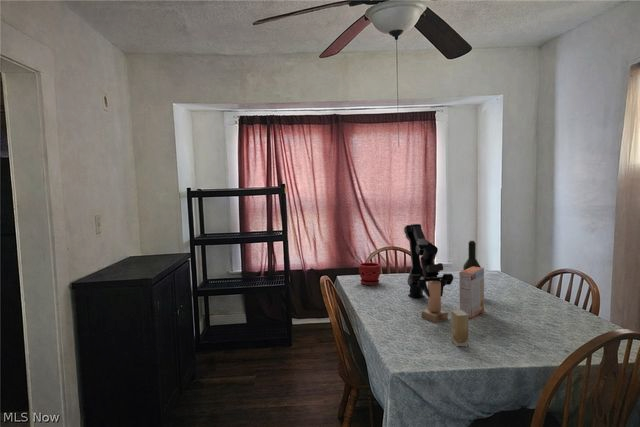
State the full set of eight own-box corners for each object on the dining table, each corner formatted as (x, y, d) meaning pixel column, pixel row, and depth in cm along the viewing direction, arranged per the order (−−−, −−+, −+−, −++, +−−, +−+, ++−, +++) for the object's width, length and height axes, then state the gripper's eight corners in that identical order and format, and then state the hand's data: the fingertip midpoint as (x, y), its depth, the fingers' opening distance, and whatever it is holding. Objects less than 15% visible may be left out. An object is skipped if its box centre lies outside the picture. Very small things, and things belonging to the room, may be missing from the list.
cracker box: (472, 308, 182) (472, 265, 180) (484, 311, 178) (485, 267, 176) (458, 316, 172) (458, 271, 171) (471, 319, 168) (472, 273, 166)
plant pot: (382, 285, 226) (382, 266, 225) (360, 286, 227) (359, 266, 226) (379, 280, 239) (378, 261, 238) (358, 280, 240) (358, 262, 239)
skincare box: (450, 340, 147) (450, 309, 146) (461, 339, 147) (461, 309, 146) (457, 347, 140) (457, 315, 140) (468, 346, 141) (469, 314, 140)
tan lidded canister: (430, 307, 175) (430, 279, 174) (442, 309, 171) (442, 280, 170) (426, 310, 170) (426, 282, 169) (438, 312, 167) (438, 283, 166)
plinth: (433, 313, 177) (433, 307, 176) (447, 318, 170) (447, 312, 169) (421, 317, 172) (421, 310, 172) (435, 322, 166) (435, 315, 165)
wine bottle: (480, 295, 202) (481, 240, 199) (480, 300, 194) (480, 242, 192) (464, 294, 205) (464, 239, 203) (462, 298, 198) (462, 241, 195)
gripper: (411, 257, 173) (417, 287, 163) (452, 256, 173) (461, 286, 163) (407, 270, 181) (413, 300, 171) (446, 269, 181) (454, 299, 171)
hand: (435, 296), depth 169 cm, fingers closed on tan lidded canister, 5 cm apart
